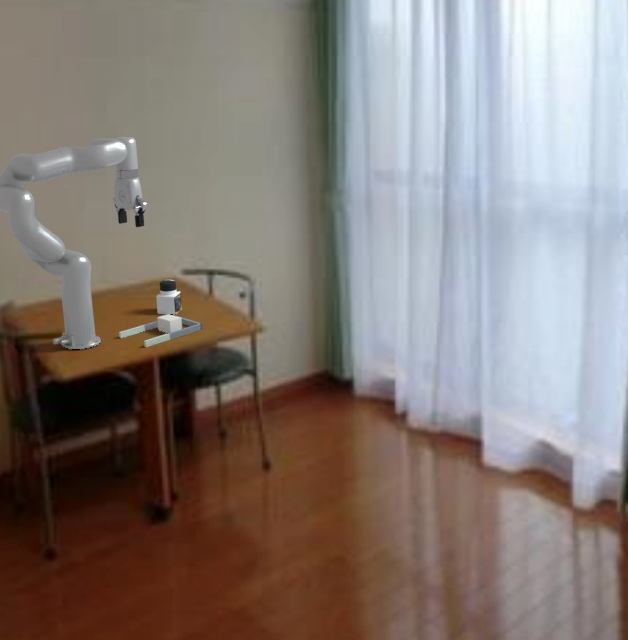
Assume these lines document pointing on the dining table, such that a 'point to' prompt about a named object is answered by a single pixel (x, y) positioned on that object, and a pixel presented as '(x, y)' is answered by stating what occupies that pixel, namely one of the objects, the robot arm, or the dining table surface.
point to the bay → (193, 328)
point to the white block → (169, 323)
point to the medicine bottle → (168, 298)
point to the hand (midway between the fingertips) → (131, 224)
